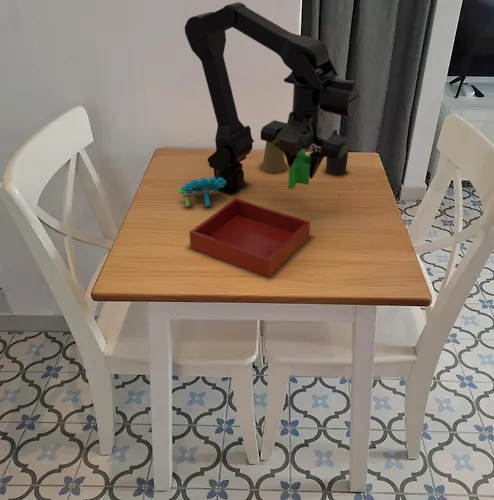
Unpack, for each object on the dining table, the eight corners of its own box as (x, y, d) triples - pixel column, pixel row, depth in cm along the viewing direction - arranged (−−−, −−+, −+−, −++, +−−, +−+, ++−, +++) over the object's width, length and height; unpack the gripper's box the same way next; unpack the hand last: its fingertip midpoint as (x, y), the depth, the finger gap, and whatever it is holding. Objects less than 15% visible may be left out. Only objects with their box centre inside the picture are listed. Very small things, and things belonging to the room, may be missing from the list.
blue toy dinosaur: (226, 184, 131) (223, 170, 121) (230, 207, 130) (228, 196, 120) (180, 192, 131) (174, 179, 121) (184, 215, 130) (178, 205, 120)
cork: (285, 173, 140) (287, 132, 134) (261, 172, 140) (262, 132, 134) (285, 163, 146) (286, 123, 139) (262, 162, 145) (263, 122, 139)
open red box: (190, 248, 112) (189, 231, 109) (236, 213, 123) (235, 198, 121) (268, 277, 104) (269, 260, 102) (309, 237, 116) (310, 221, 114)
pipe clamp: (305, 191, 117) (306, 172, 114) (288, 189, 117) (288, 169, 115) (315, 168, 126) (316, 150, 123) (299, 166, 126) (300, 148, 124)
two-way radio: (346, 170, 143) (352, 114, 134) (346, 178, 139) (352, 121, 131) (325, 168, 143) (329, 113, 135) (324, 176, 139) (329, 120, 131)
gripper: (246, 108, 110) (246, 178, 119) (330, 129, 102) (323, 201, 111) (274, 93, 118) (272, 160, 127) (354, 111, 110) (346, 180, 119)
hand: (302, 175), depth 121 cm, fingers closed on pipe clamp, 4 cm apart
